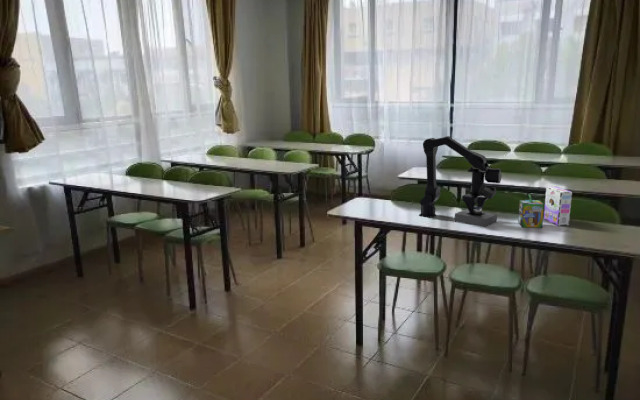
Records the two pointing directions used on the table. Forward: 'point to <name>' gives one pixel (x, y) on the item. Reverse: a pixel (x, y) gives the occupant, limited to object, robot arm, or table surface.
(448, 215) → the table surface
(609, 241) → the table surface
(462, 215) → the camera body
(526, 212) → the chalk box
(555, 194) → the candy box
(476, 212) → the lens
